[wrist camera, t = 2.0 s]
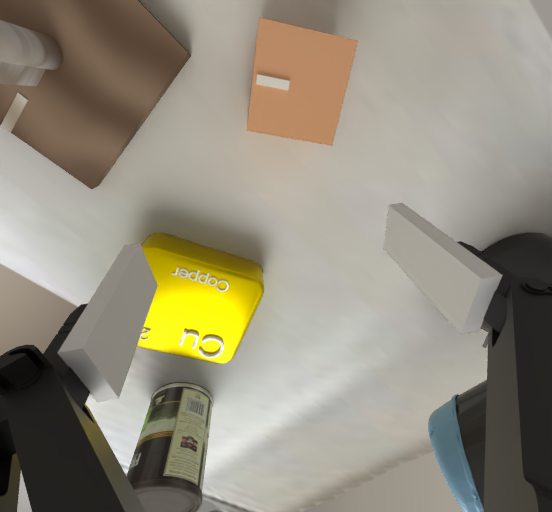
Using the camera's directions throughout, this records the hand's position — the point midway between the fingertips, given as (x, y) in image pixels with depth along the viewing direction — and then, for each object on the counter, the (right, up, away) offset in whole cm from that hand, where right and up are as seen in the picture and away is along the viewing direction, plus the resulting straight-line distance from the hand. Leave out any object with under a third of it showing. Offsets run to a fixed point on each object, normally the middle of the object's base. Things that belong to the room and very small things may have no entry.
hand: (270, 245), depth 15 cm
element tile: (-11, -5, +23) cm, 26 cm away
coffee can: (-16, -25, +33) cm, 44 cm away
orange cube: (+1, +15, +12) cm, 19 cm away
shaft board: (-19, +17, +9) cm, 27 cm away
